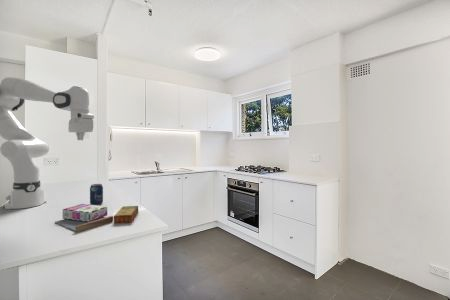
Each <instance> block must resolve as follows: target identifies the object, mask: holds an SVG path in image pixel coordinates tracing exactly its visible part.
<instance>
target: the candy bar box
mask: <svg viewBox="0 0 450 300" xmlns="http://www.w3.org/2000/svg"><path fill="white" fill-rule="evenodd" d="M102 217H108V206H107V205H106V206H105V205H91V204H87V203H81V204H77V205H73V206H70V207H67V208H62V220H63V219H69V220H77V221H83V222H91V221H94V220H96V219H99V218H102Z"/></svg>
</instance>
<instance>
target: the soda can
mask: <svg viewBox="0 0 450 300" xmlns="http://www.w3.org/2000/svg"><path fill="white" fill-rule="evenodd" d="M103 202H104V187H103V184H102V183H92V184H91V185H90V187H89V203H90V204H89V205H98V206H101V205H102V204H103Z"/></svg>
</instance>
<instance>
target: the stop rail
mask: <svg viewBox="0 0 450 300" xmlns="http://www.w3.org/2000/svg"><path fill="white" fill-rule="evenodd" d="M112 222H114V215H110V216H105V218H102V219H99V220H96V221H92V222H89V223H85V224H82V225H78V226H75V231H74V232H75V233H80V232H83V231H86V230H89V229H92V228H96V227H100V226H102V224H103V225H105V223H106V224H108V223H112Z"/></svg>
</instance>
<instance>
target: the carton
mask: <svg viewBox="0 0 450 300" xmlns="http://www.w3.org/2000/svg"><path fill="white" fill-rule="evenodd" d="M138 214H139V205H128V206H125V205H124V206H122V207H121V208H120V209H119V210H118V211H117V212H116V213H115V214H114V215H113V224H128V223H129V224H131V223H133V222H134V220H135V219H136V217H137V215H138Z"/></svg>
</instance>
